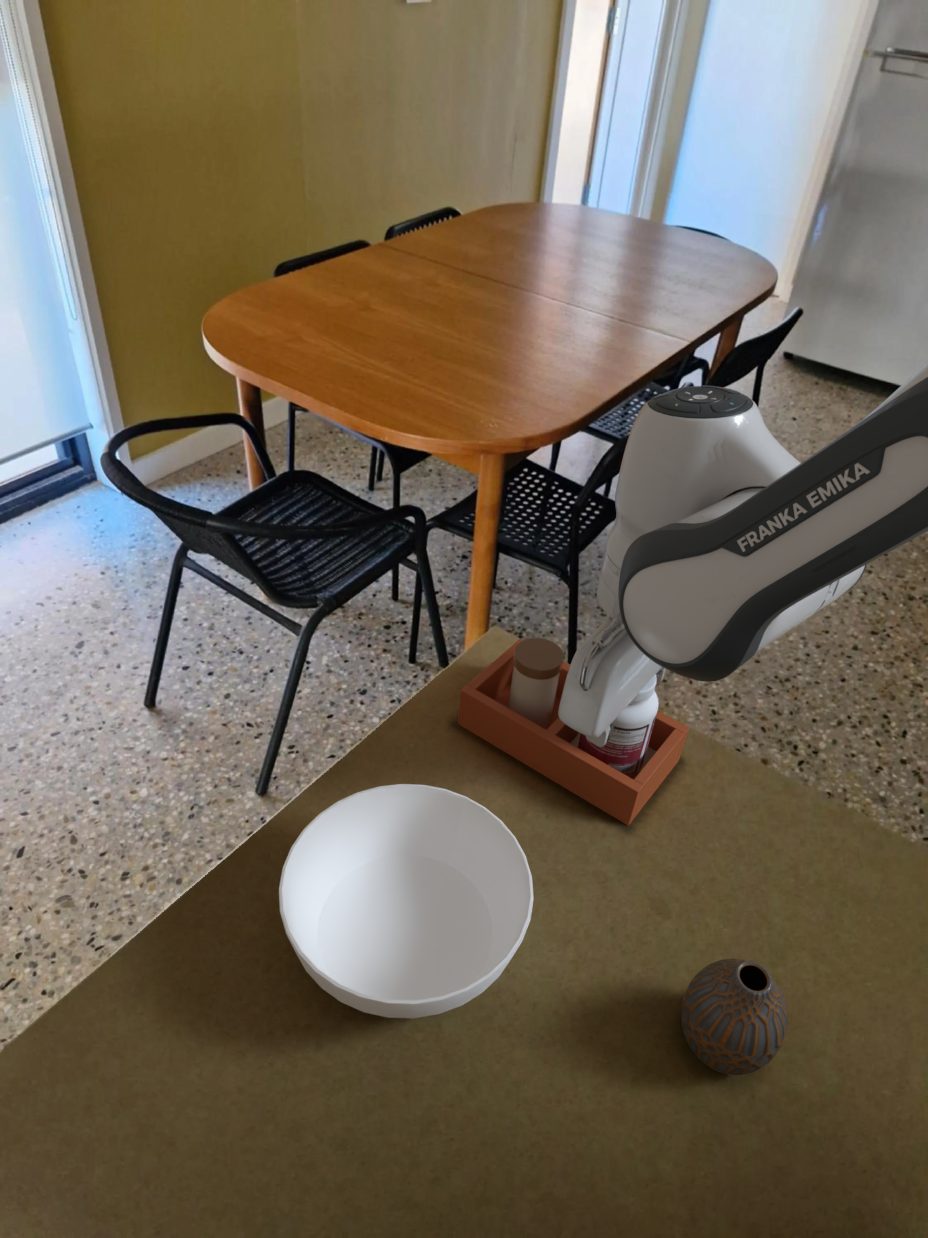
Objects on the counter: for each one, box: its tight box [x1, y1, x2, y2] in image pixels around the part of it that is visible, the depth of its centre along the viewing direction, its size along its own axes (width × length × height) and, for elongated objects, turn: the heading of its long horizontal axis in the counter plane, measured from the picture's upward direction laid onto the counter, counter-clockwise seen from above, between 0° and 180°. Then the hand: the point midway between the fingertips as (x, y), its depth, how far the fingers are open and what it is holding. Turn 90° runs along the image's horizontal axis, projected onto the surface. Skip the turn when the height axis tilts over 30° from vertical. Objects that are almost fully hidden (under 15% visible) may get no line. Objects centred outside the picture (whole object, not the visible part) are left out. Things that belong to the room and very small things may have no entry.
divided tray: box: [457, 638, 690, 826], centre depth 84 cm, size 10×19×5 cm, turn 53°
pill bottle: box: [578, 674, 659, 779], centre depth 80 cm, size 6×6×11 cm
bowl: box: [278, 783, 535, 1019], centre depth 66 cm, size 18×18×7 cm
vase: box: [680, 958, 788, 1076], centre depth 61 cm, size 7×7×9 cm
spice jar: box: [508, 637, 565, 729], centre depth 84 cm, size 5×5×8 cm
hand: (625, 709), depth 79 cm, fingers open, 8 cm apart
